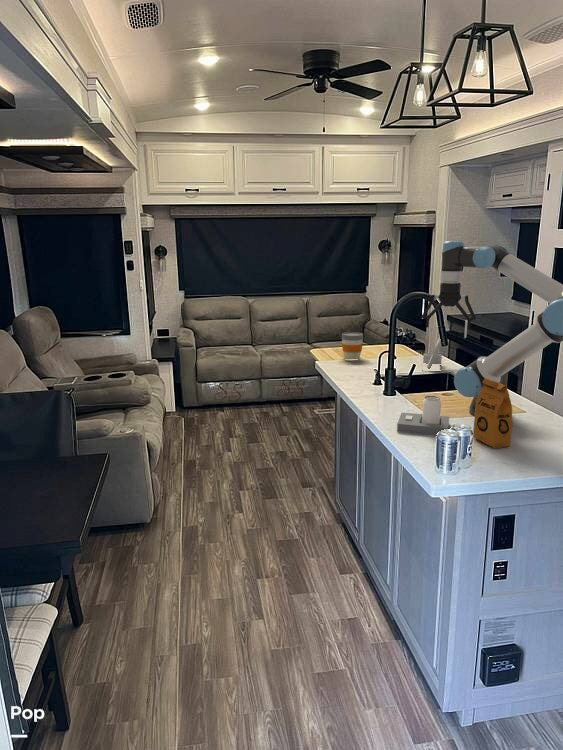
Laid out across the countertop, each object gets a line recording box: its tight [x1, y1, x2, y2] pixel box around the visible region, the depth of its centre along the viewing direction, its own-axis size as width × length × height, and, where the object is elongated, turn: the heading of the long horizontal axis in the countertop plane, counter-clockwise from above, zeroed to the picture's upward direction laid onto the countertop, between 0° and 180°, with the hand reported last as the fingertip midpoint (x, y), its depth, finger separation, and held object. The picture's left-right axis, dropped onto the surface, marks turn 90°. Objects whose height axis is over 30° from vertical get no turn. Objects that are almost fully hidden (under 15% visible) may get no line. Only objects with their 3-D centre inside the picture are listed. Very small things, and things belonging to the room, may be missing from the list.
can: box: [421, 395, 442, 425], centre depth 208 cm, size 6×6×12 cm
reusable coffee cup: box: [341, 331, 364, 360], centre depth 324 cm, size 12×13×15 cm
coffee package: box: [472, 378, 513, 449], centre depth 192 cm, size 10×12×22 cm
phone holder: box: [422, 335, 443, 369], centre depth 300 cm, size 17×10×18 cm, turn 164°
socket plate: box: [396, 412, 450, 436], centre depth 210 cm, size 18×14×4 cm
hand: (447, 336), depth 219 cm, fingers open, 13 cm apart
